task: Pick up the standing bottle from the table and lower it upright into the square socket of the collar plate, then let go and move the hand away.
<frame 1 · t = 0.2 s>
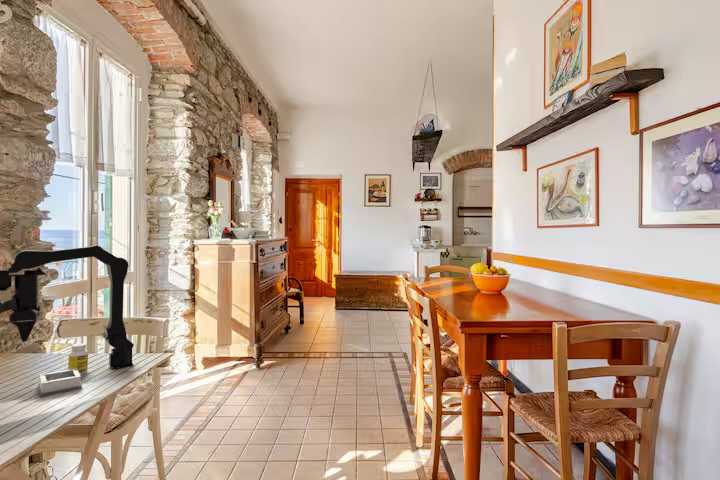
hand: (25, 338, 124), 14 cm above the table, tool pointing down, fingers open, 9 cm apart
socket collar: (59, 387, 120), on the table
supplement bottle: (77, 373, 133), on the table
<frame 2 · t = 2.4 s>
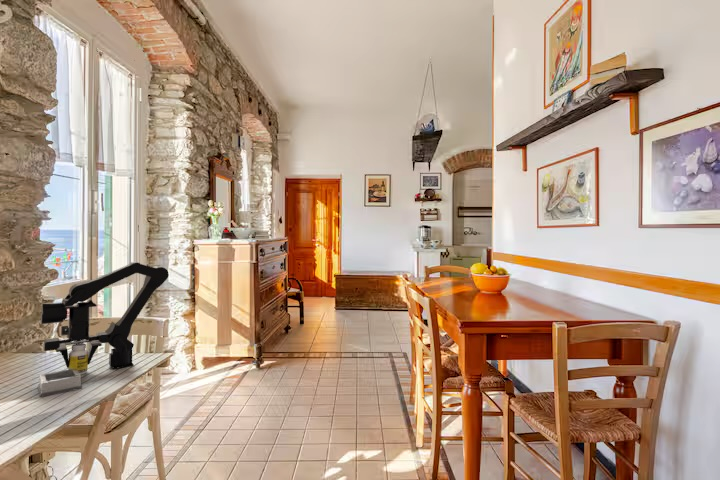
hand: (78, 365, 133), 3 cm above the table, tool pointing down, fingers closed on supplement bottle, 5 cm apart
supplement bottle: (77, 373, 133), on the table, touching gripper
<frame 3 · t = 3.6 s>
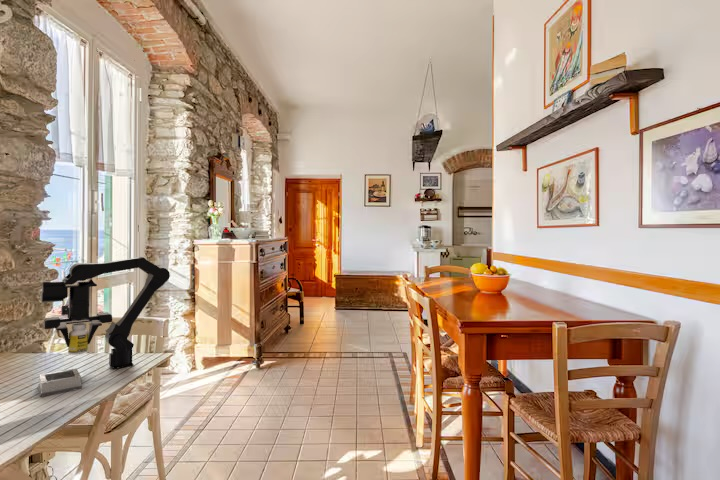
hand: (78, 345, 133), 10 cm above the table, tool pointing down, fingers closed on supplement bottle, 5 cm apart
supplement bottle: (78, 353, 133), point 7 cm above the table, touching gripper
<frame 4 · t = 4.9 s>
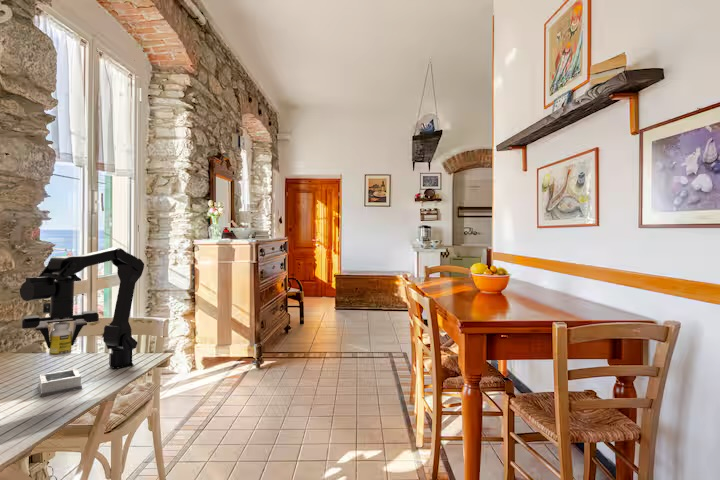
hand: (60, 346, 121), 13 cm above the table, tool pointing down, fingers closed on supplement bottle, 5 cm apart
supplement bottle: (60, 355, 121), point 10 cm above the table, touching gripper
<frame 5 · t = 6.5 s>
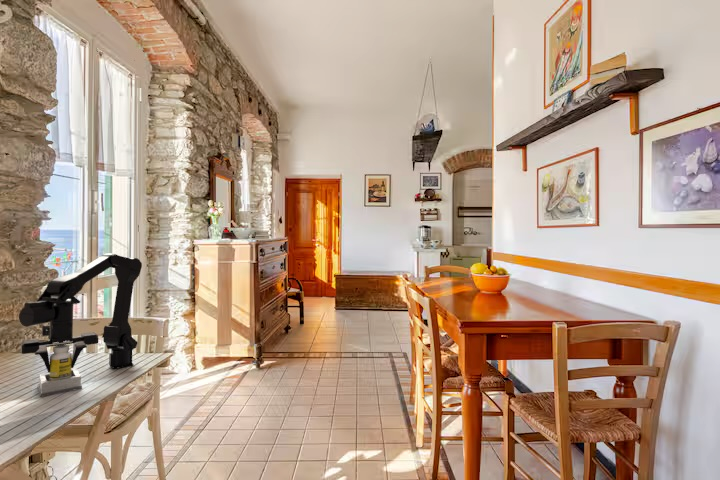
hand: (60, 369, 120), 6 cm above the table, tool pointing down, fingers closed on supplement bottle, 5 cm apart
supplement bottle: (60, 378, 120), point 3 cm above the table, touching gripper
when the fingers open (5 cm above the table, at t = 7.5 s): supplement bottle drops 2 cm, resting on socket collar.
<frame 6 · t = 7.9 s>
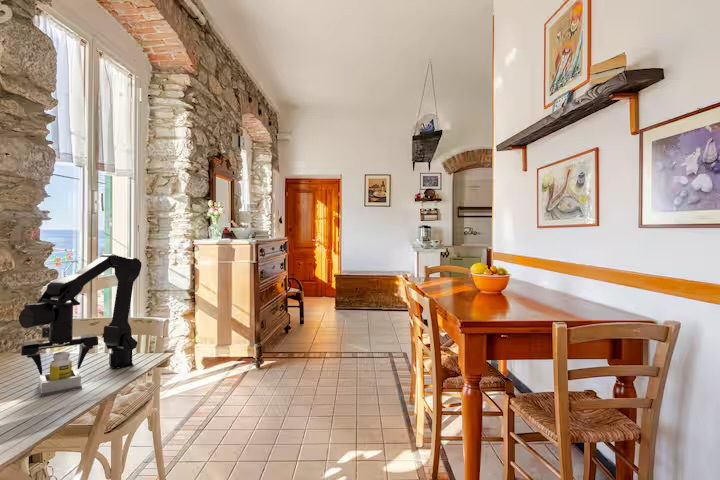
hand: (60, 371, 120), 5 cm above the table, tool pointing down, fingers open, 9 cm apart
supplement bottle: (60, 385, 120), point 1 cm above the table, touching socket collar
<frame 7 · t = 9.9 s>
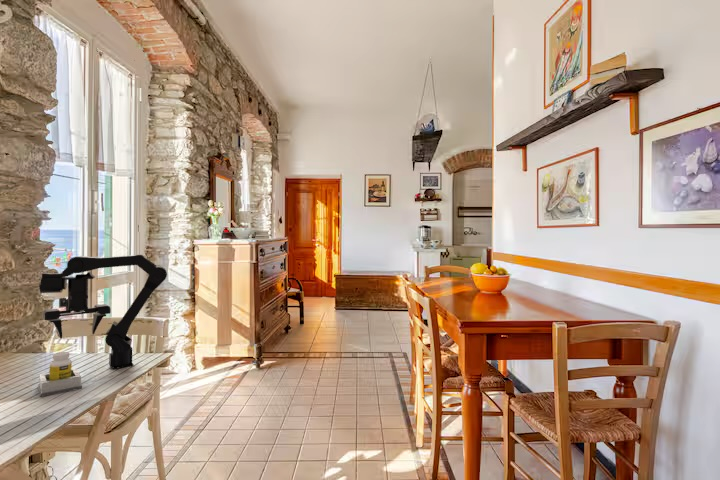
hand: (77, 336, 136), 12 cm above the table, tool pointing down, fingers open, 9 cm apart
nothing on the table moved.
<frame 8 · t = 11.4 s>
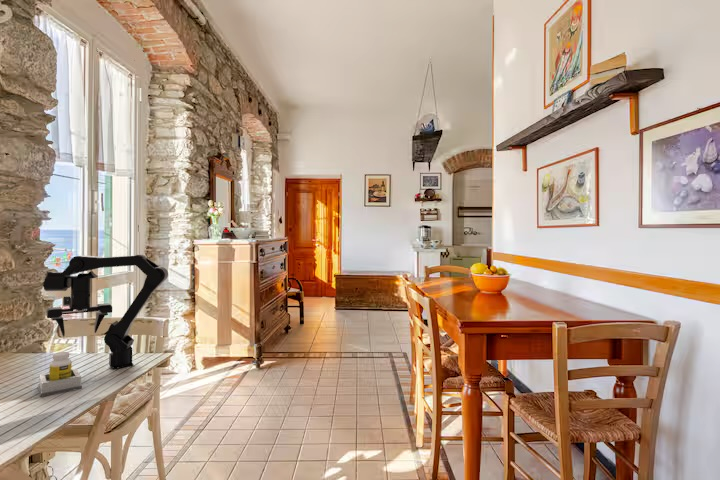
hand: (79, 334, 138), 12 cm above the table, tool pointing down, fingers open, 9 cm apart
nothing on the table moved.
at the end: supplement bottle 0.1 cm off-centre on the socket collar, point 0.6 cm above the socket collar's base; supplement bottle tilted 0°; the gripper is holding nothing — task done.
